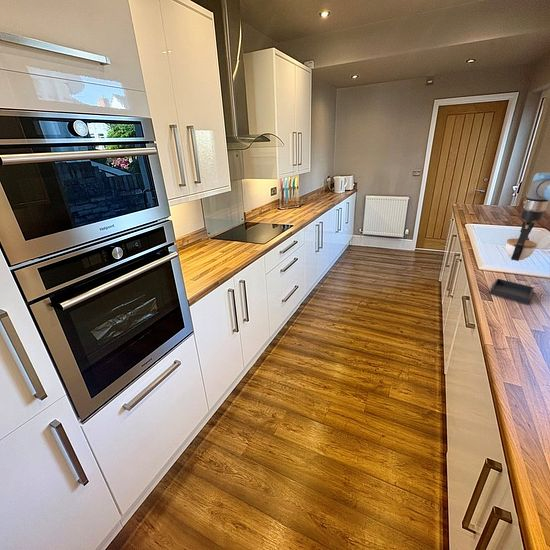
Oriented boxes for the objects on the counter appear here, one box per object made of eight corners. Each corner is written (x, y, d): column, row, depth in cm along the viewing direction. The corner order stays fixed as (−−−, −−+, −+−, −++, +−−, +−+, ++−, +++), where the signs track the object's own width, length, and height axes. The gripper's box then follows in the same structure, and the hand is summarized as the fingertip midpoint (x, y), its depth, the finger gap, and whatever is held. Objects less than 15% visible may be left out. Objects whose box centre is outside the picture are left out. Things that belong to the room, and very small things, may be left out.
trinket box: (506, 260, 134) (513, 241, 130) (498, 252, 143) (505, 234, 139) (535, 263, 131) (542, 243, 127) (524, 254, 140) (531, 236, 136)
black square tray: (532, 292, 131) (534, 287, 129) (528, 304, 122) (530, 299, 121) (495, 283, 139) (497, 278, 138) (489, 293, 130) (491, 288, 129)
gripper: (525, 204, 137) (510, 248, 146) (518, 213, 122) (502, 261, 131) (546, 206, 132) (529, 251, 142) (542, 216, 117) (523, 266, 127)
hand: (516, 256), depth 137 cm, fingers closed on trinket box, 11 cm apart
